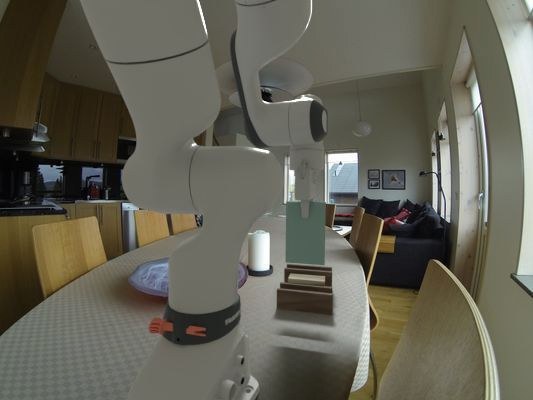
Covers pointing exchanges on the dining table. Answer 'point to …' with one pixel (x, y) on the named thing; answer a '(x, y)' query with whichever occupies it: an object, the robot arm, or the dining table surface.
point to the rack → (306, 291)
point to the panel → (305, 233)
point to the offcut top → (306, 279)
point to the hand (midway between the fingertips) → (305, 216)
